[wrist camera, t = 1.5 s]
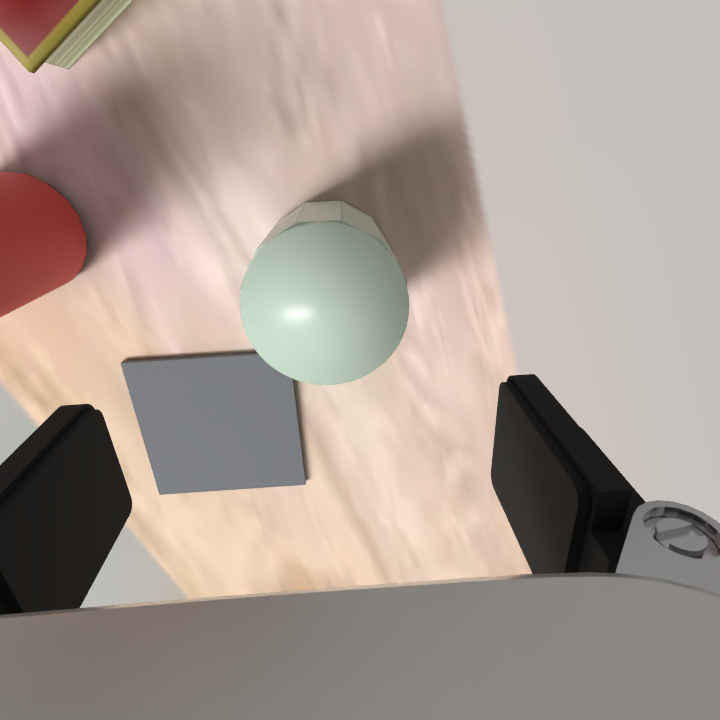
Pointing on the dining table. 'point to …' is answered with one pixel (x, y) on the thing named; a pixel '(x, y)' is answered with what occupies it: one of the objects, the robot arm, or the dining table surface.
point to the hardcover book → (54, 28)
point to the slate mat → (216, 422)
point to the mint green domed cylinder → (324, 295)
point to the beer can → (36, 240)
